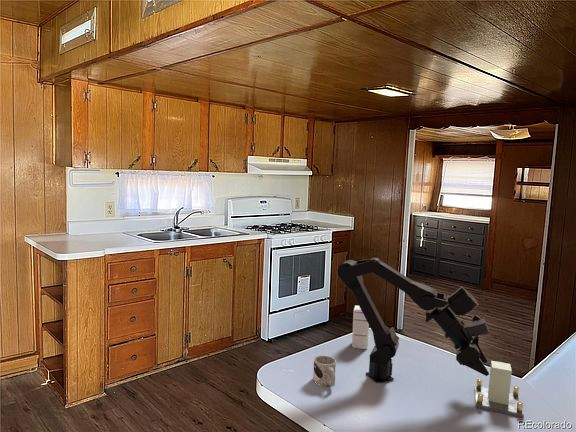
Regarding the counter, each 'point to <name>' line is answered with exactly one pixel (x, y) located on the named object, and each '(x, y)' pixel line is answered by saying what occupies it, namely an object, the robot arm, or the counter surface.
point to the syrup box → (360, 329)
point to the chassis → (511, 409)
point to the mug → (324, 370)
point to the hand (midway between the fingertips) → (487, 368)
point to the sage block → (499, 382)
